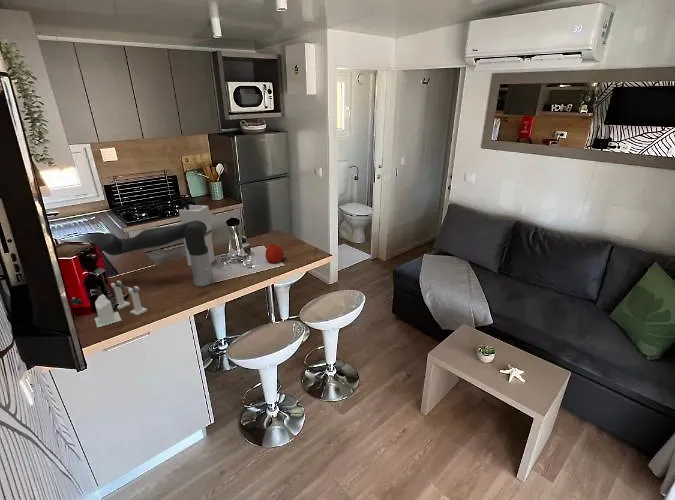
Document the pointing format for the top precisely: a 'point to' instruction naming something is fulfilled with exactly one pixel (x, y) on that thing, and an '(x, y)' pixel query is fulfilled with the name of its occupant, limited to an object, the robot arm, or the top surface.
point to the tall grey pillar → (201, 215)
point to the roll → (104, 309)
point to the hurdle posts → (122, 303)
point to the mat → (100, 324)
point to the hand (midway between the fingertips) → (91, 298)
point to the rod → (125, 287)
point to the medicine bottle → (246, 245)
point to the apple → (274, 253)
